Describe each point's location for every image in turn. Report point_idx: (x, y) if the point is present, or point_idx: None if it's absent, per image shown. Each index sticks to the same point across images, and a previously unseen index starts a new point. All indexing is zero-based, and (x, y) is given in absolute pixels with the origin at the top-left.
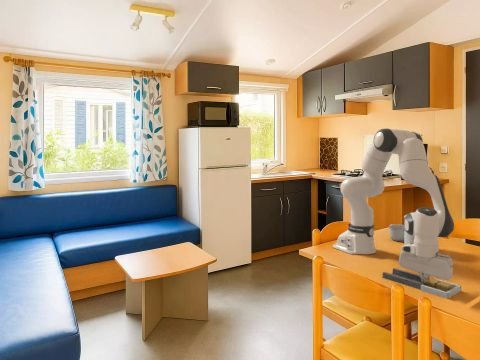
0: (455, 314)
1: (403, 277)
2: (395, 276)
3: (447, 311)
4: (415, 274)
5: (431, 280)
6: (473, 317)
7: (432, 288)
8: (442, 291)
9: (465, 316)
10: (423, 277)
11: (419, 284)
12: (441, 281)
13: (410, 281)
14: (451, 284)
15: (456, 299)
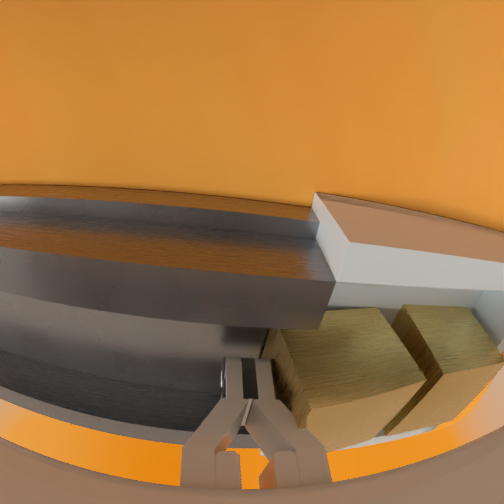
0: (423, 433)
1: (61, 407)
2: (26, 408)
3: (401, 438)
4: (33, 275)
5: (340, 440)
6: (470, 410)
7: (350, 446)
8: (409, 434)
9: (449, 422)
10: (233, 432)
11: (240, 442)
12: (435, 386)
13: (154, 437)
14: (495, 374)
15: None
